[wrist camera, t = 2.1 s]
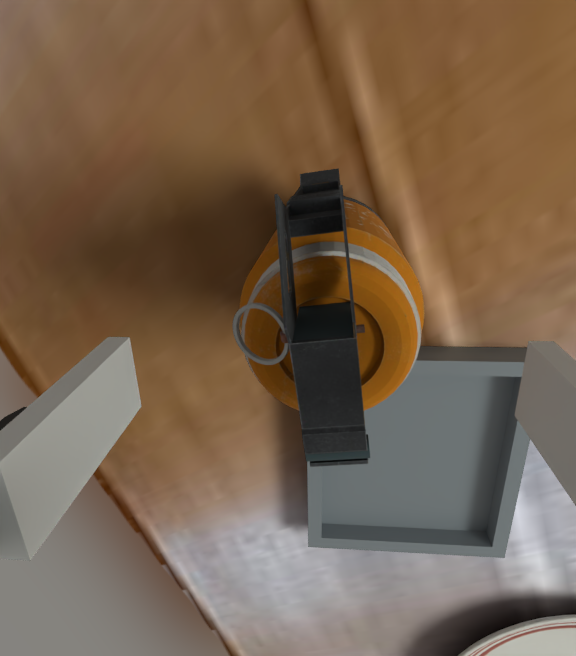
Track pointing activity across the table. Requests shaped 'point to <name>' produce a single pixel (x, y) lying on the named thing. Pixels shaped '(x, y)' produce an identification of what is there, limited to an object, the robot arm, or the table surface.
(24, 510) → the robot arm
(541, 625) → the dinner plate
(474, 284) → the table surface
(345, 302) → the canister
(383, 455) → the tray
